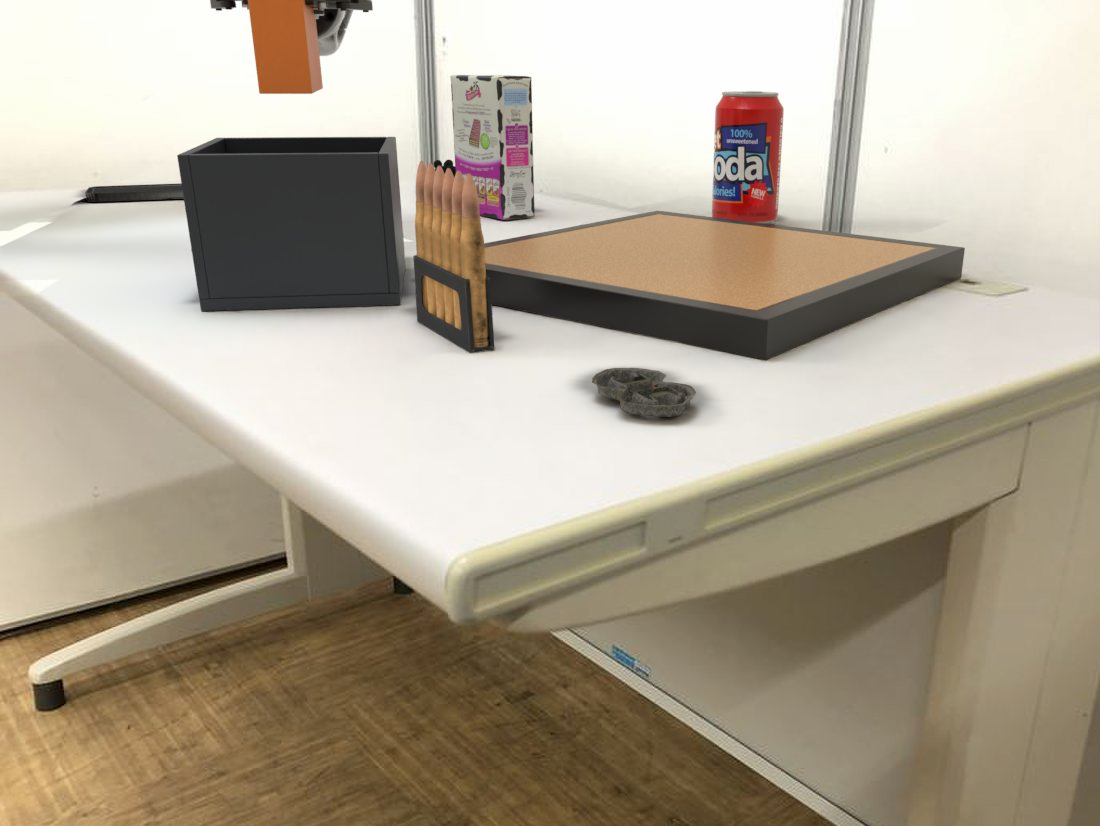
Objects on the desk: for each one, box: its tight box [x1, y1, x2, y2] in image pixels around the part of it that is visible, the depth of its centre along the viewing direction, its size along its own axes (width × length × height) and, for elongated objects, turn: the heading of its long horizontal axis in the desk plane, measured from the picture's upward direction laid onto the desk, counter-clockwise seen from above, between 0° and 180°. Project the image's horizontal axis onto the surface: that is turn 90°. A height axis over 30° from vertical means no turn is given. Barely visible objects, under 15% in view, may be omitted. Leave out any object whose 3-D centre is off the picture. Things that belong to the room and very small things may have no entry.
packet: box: [248, 0, 324, 95], centre depth 85 cm, size 4×9×13 cm, turn 10°
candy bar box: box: [449, 74, 536, 221], centre depth 130 cm, size 11×5×16 cm, turn 40°
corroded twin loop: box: [591, 367, 697, 418], centre depth 64 cm, size 5×8×1 cm, turn 30°
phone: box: [84, 182, 184, 203], centre depth 144 cm, size 8×1×15 cm
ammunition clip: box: [412, 160, 495, 354], centre depth 76 cm, size 11×2×12 cm, turn 31°
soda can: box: [711, 90, 785, 224], centre depth 124 cm, size 8×8×15 cm
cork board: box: [484, 210, 966, 361], centre depth 95 cm, size 36×3×35 cm
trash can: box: [176, 136, 406, 312], centre depth 90 cm, size 16×16×12 cm
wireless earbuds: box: [433, 159, 456, 178], centre depth 146 cm, size 7×2×5 cm, turn 120°
